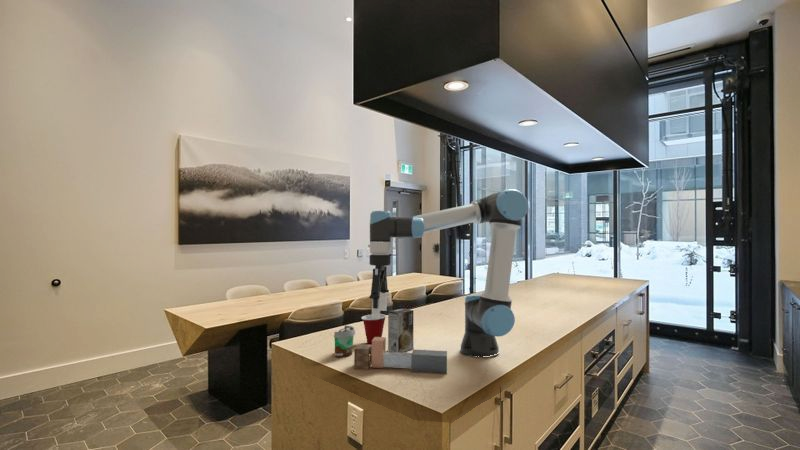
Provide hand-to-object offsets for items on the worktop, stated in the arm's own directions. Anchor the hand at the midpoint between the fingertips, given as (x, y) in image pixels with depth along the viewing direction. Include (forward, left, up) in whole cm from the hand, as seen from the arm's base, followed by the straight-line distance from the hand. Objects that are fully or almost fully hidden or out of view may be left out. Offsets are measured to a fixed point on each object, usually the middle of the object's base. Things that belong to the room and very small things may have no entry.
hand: (379, 314), depth 135 cm
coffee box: (-5, -23, -19) cm, 30 cm away
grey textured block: (+6, 0, -19) cm, 19 cm away
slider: (-5, 0, -18) cm, 18 cm away
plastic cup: (+8, -31, -19) cm, 37 cm away
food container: (+15, -13, -19) cm, 27 cm away
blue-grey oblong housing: (-18, 0, -19) cm, 26 cm away
